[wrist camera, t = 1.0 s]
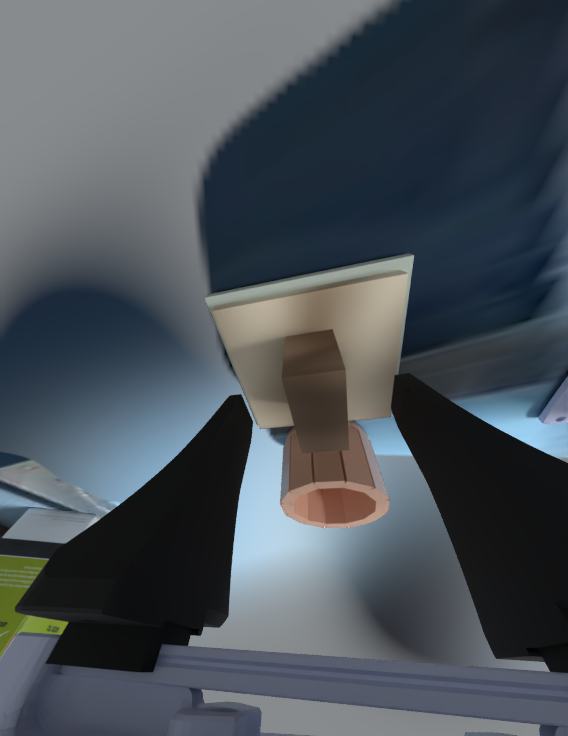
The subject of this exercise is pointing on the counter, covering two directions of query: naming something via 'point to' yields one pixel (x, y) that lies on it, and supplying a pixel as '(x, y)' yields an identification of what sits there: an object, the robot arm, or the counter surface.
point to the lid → (318, 355)
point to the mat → (313, 280)
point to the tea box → (32, 565)
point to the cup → (333, 483)
